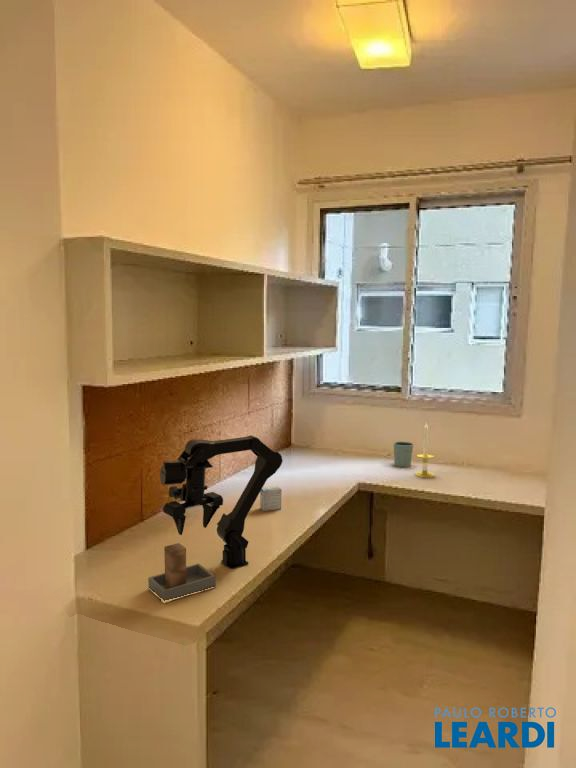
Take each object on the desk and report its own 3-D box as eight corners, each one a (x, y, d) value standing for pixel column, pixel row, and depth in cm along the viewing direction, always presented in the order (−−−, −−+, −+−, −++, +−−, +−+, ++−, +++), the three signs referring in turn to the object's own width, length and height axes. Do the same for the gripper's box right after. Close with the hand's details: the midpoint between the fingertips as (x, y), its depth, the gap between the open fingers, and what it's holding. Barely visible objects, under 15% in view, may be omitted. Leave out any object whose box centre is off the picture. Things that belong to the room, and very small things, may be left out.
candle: (412, 472, 289) (414, 420, 286) (432, 472, 289) (434, 420, 285) (417, 477, 279) (418, 423, 276) (437, 477, 279) (439, 423, 276)
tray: (198, 574, 172) (198, 563, 171) (215, 587, 163) (215, 576, 163) (148, 589, 162) (148, 577, 162) (163, 603, 154) (163, 591, 154)
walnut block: (179, 582, 165) (178, 543, 163) (186, 588, 161) (185, 548, 160) (165, 586, 162) (164, 546, 161) (171, 592, 158) (171, 551, 157)
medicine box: (277, 506, 235) (278, 485, 234) (281, 509, 231) (281, 488, 230) (259, 508, 232) (259, 487, 231) (263, 511, 228) (263, 490, 227)
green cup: (389, 464, 304) (389, 442, 302) (404, 462, 309) (404, 440, 307) (401, 468, 295) (402, 446, 294) (416, 466, 300) (417, 444, 298)
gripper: (203, 469, 183) (200, 515, 185) (153, 480, 169) (151, 529, 171) (225, 479, 175) (222, 526, 177) (175, 490, 162) (173, 542, 164)
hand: (192, 530), depth 173 cm, fingers open, 9 cm apart
